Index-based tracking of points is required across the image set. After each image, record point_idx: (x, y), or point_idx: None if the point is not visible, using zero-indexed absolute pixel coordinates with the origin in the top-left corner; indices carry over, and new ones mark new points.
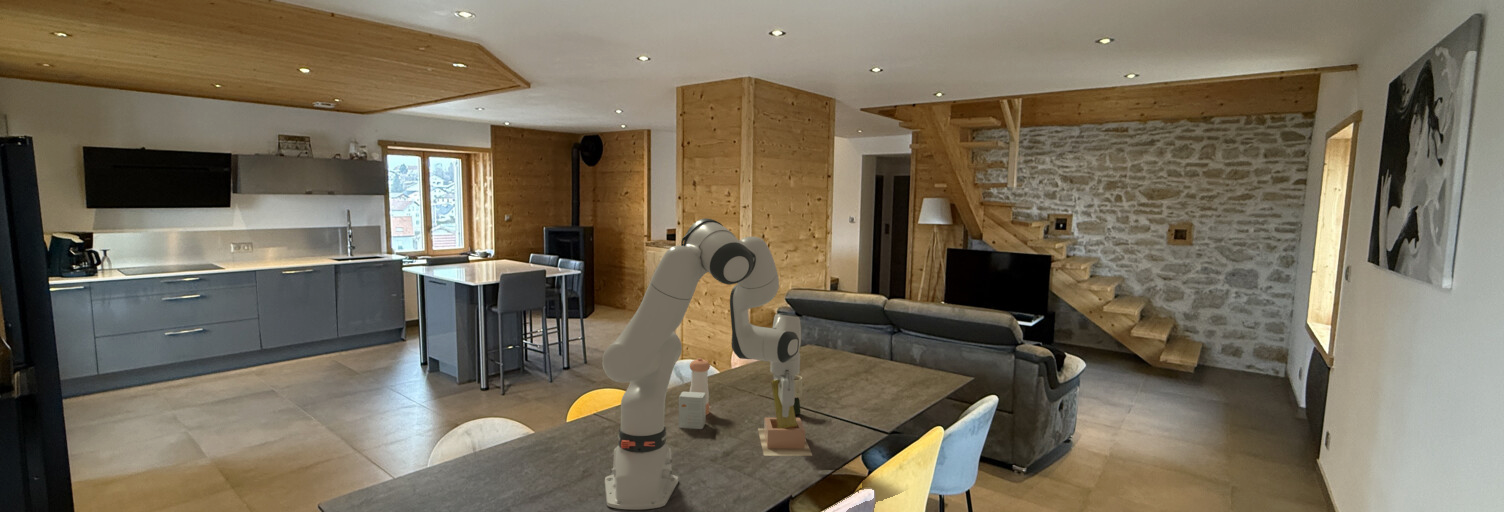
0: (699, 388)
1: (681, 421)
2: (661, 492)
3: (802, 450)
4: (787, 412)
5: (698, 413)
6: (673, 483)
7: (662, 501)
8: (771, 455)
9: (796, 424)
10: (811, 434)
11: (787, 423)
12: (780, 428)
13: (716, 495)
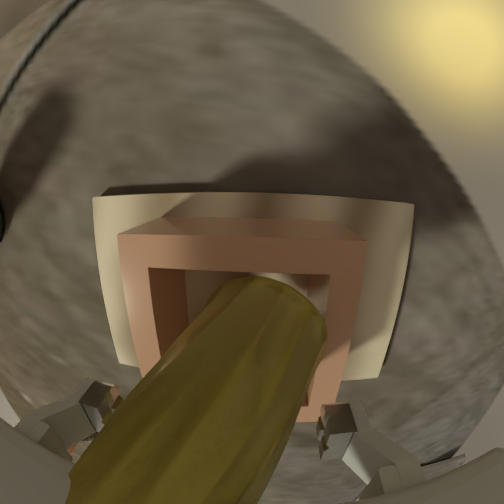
0: None
1: None
2: (444, 468)
3: (360, 235)
4: (366, 428)
5: None
6: (429, 469)
7: (463, 459)
8: (383, 357)
9: (295, 294)
10: (124, 153)
11: (316, 361)
12: (316, 376)
13: (477, 417)
